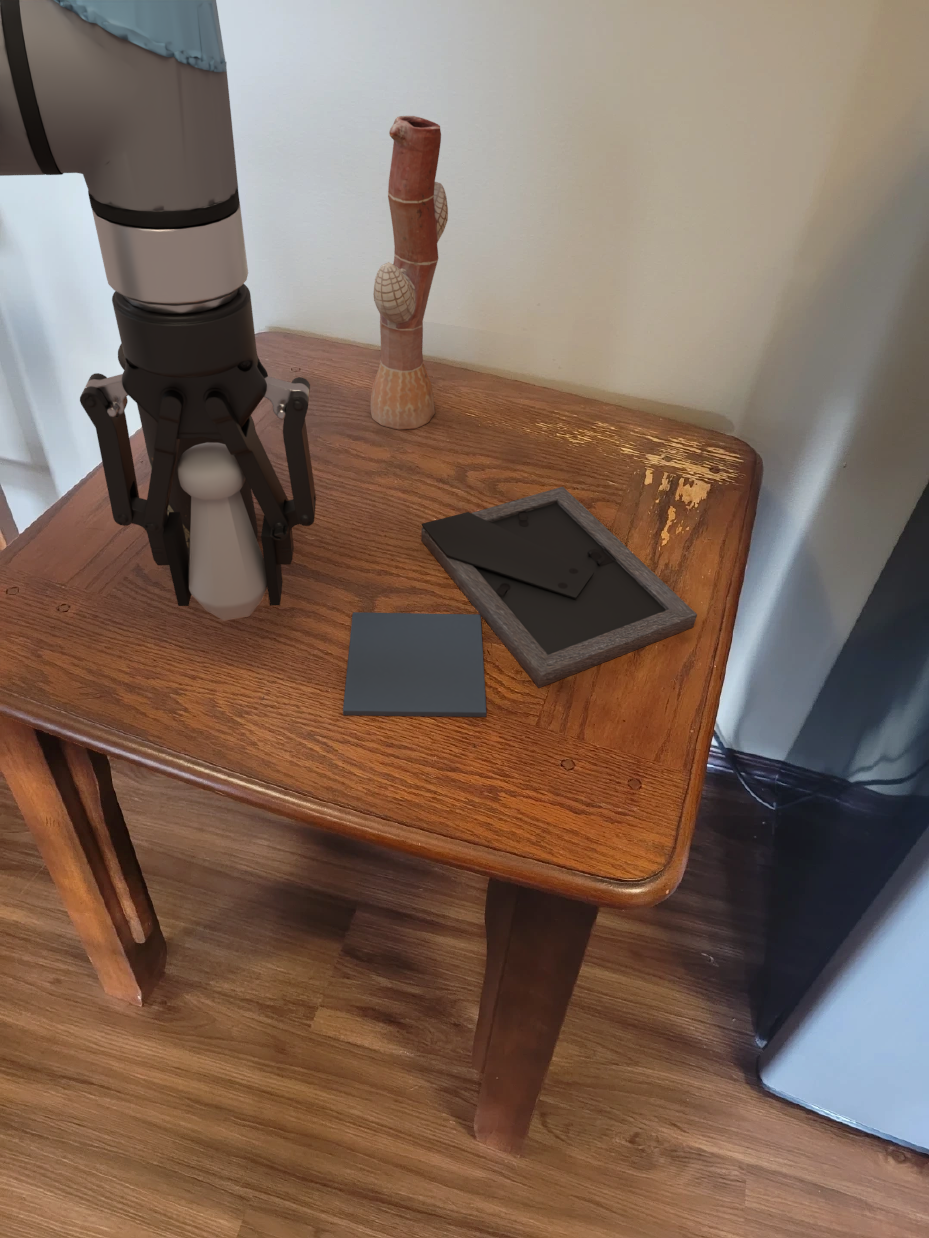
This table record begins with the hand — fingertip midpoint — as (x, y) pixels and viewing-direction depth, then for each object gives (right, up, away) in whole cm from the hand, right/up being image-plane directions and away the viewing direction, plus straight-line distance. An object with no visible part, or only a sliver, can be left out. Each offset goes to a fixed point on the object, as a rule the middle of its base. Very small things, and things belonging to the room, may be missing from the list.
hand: (231, 593), depth 63 cm
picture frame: (+25, +1, +14) cm, 29 cm away
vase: (+11, +22, +35) cm, 43 cm away
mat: (+13, -6, +6) cm, 16 cm away
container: (-6, +6, +17) cm, 19 cm away
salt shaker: (0, -1, +1) cm, 1 cm away
